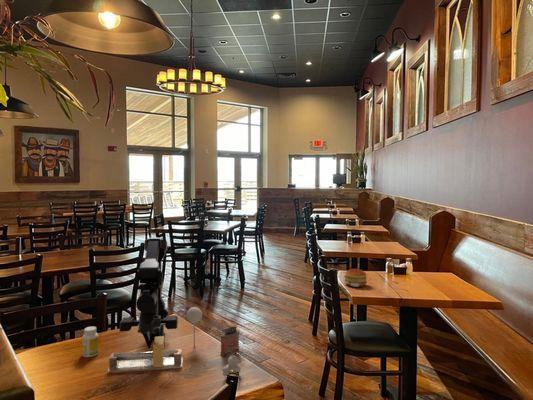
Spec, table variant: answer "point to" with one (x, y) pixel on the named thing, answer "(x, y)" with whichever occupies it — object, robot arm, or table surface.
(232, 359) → the rubber duck
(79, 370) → the table surface
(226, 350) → the lighter
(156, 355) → the tan wooden block
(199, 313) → the lollipop
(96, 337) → the supplement bottle
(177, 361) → the grey piece
